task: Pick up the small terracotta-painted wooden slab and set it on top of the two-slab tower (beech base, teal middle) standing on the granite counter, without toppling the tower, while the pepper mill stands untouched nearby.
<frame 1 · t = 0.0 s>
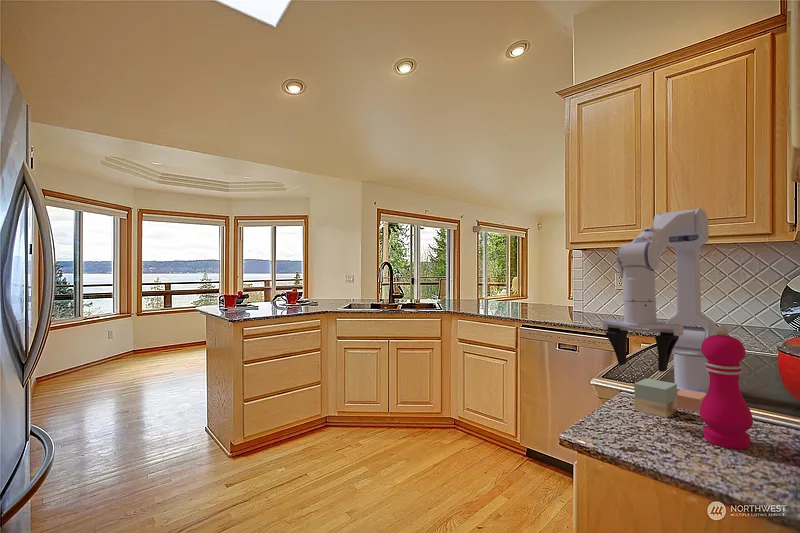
hand: (641, 367, 82), 10 cm above the counter, tool pointing down, fingers open, 7 cm apart
terracotta block: (690, 408, 87), on the counter
middle block: (655, 397, 86), point 3 cm above the counter, touching base block
base block: (655, 411, 86), on the counter, touching middle block
pepper mill: (726, 442, 70), on the counter
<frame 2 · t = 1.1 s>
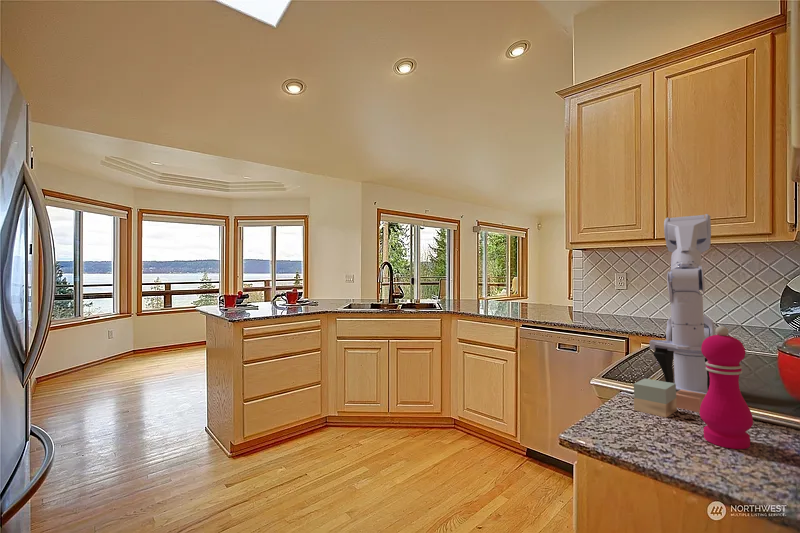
hand: (689, 386, 87), 4 cm above the counter, tool pointing down, fingers open, 7 cm apart
nothing on the counter moved.
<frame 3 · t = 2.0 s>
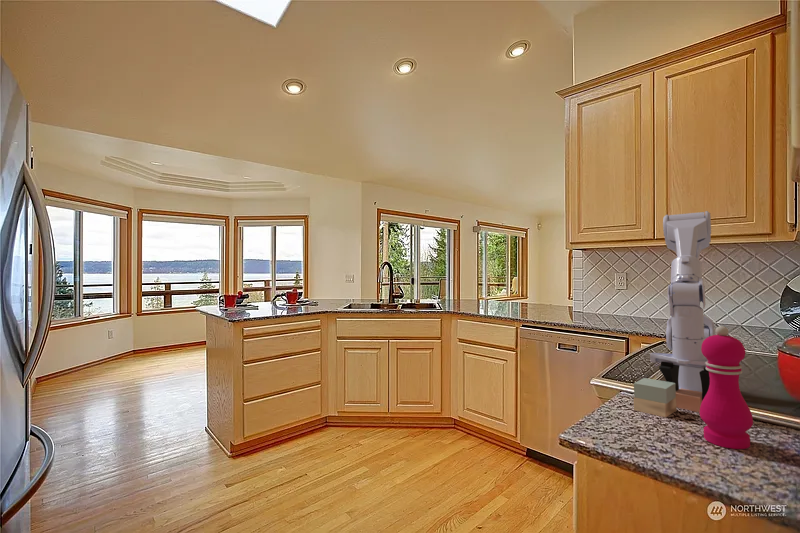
hand: (690, 400, 87), 1 cm above the counter, tool pointing down, fingers closed on terracotta block, 5 cm apart
terracotta block: (690, 406, 87), on the counter, touching gripper
everything else where it was.
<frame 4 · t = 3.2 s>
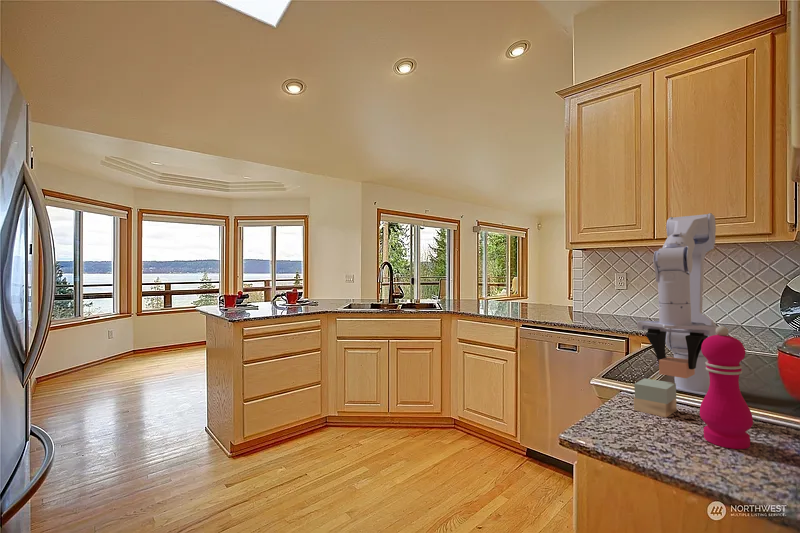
hand: (676, 366, 87), 9 cm above the counter, tool pointing down, fingers closed on terracotta block, 5 cm apart
terracotta block: (676, 374, 87), point 7 cm above the counter, touching gripper
middle block: (655, 397, 86), point 3 cm above the counter
base block: (655, 411, 86), on the counter
everything else where it was.
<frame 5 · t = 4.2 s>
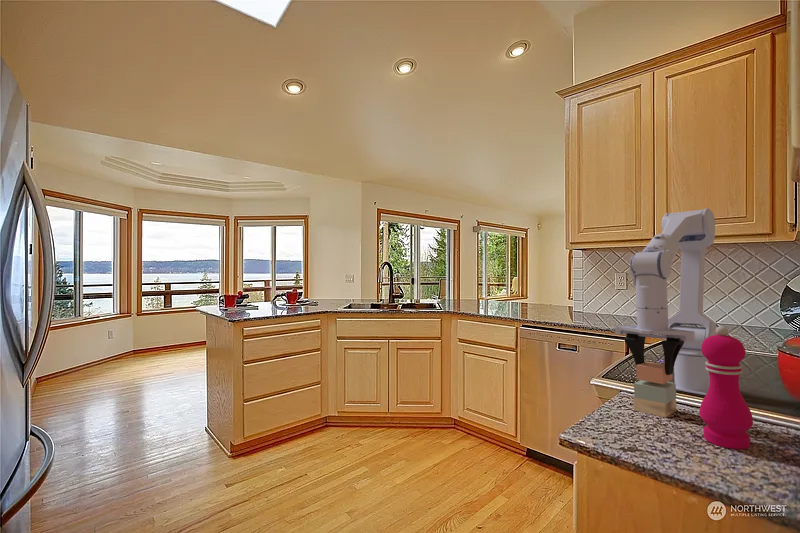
hand: (654, 371, 86), 8 cm above the counter, tool pointing down, fingers closed on terracotta block, 5 cm apart
terracotta block: (654, 379, 86), point 7 cm above the counter, touching gripper
everything else where it was.
when the fingers open (8 cm above the counter, at t = 4.4 s): terracotta block stays where it is, resting on middle block.
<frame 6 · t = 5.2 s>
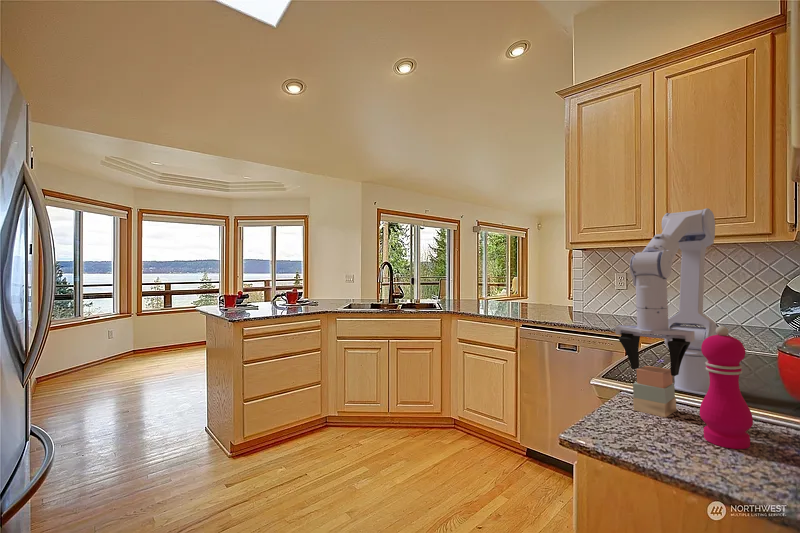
hand: (654, 371, 86), 8 cm above the counter, tool pointing down, fingers open, 7 cm apart
terracotta block: (654, 383, 86), point 6 cm above the counter, touching middle block
middle block: (654, 397, 86), point 3 cm above the counter, touching base block, terracotta block
base block: (654, 411, 86), on the counter, touching middle block
everything else where it was.
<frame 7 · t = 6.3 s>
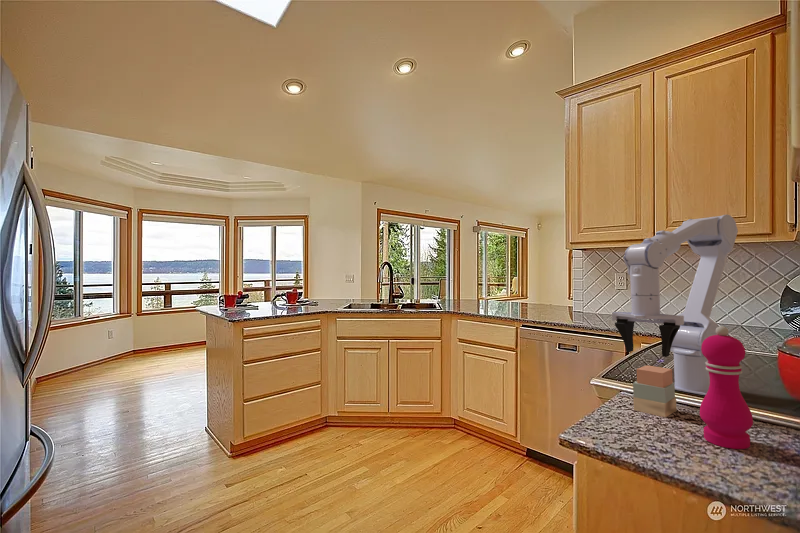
hand: (647, 353, 93), 10 cm above the counter, tool pointing down, fingers open, 7 cm apart
terracotta block: (654, 383, 86), point 6 cm above the counter
middle block: (654, 396, 86), point 3 cm above the counter, touching base block
everything else where it was.
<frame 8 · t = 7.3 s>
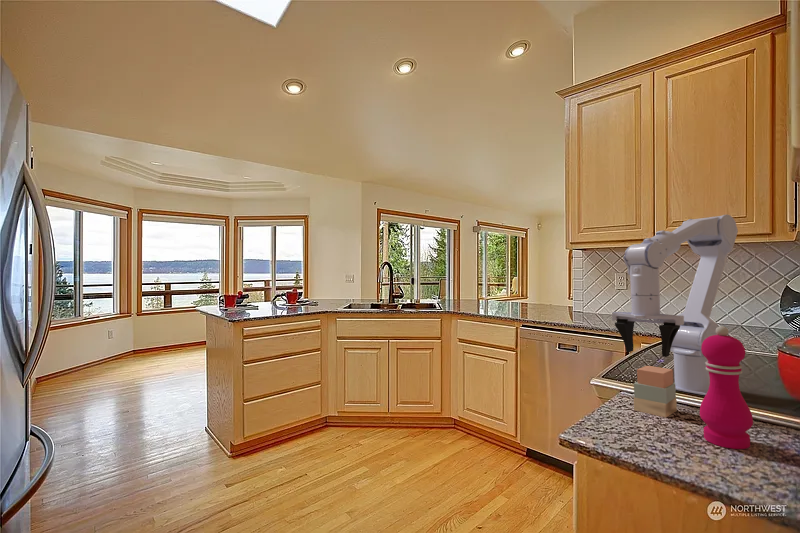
hand: (647, 353, 93), 10 cm above the counter, tool pointing down, fingers open, 7 cm apart
terracotta block: (655, 383, 86), point 6 cm above the counter, touching middle block
middle block: (655, 397, 86), point 3 cm above the counter, touching base block, terracotta block
everything else where it was.
at the end: terracotta block 0.1 cm off-centre on the middle block, point 3.0 cm above the middle block's base; middle block tilted 0°; middle block 0.1 cm from the target spot, point 2.6 cm above the counter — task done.
